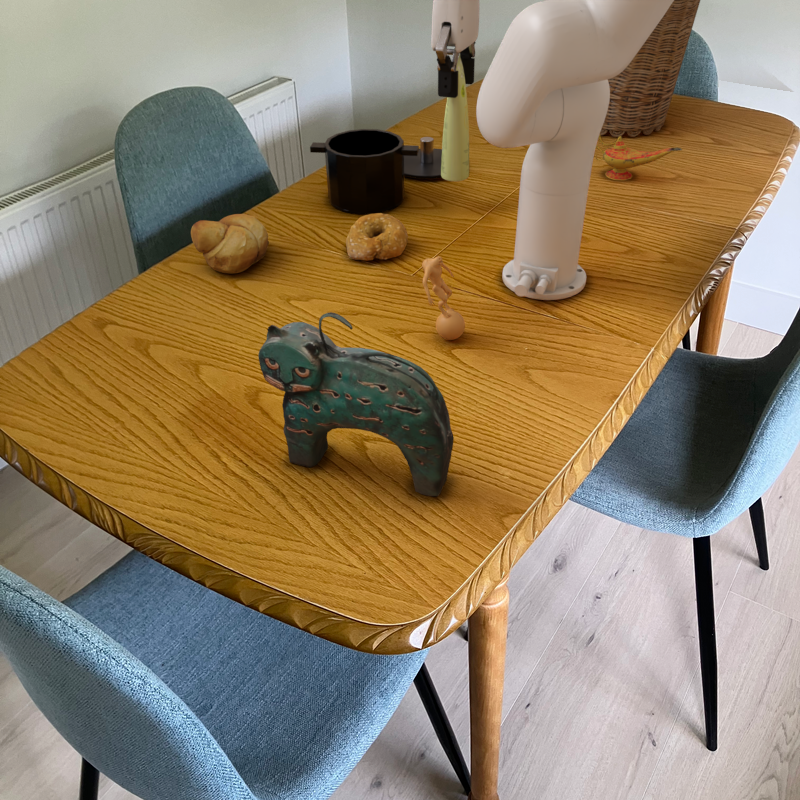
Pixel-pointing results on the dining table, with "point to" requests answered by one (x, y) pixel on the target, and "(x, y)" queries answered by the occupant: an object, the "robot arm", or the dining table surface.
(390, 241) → the bagel
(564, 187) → the robot arm
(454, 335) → the figurine
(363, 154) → the pot
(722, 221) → the dining table surface
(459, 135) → the tube
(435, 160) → the pot lid
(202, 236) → the bread roll
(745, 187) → the dining table surface
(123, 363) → the dining table surface
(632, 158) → the magic lamp
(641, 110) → the wicker basket
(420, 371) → the ceramic cat
